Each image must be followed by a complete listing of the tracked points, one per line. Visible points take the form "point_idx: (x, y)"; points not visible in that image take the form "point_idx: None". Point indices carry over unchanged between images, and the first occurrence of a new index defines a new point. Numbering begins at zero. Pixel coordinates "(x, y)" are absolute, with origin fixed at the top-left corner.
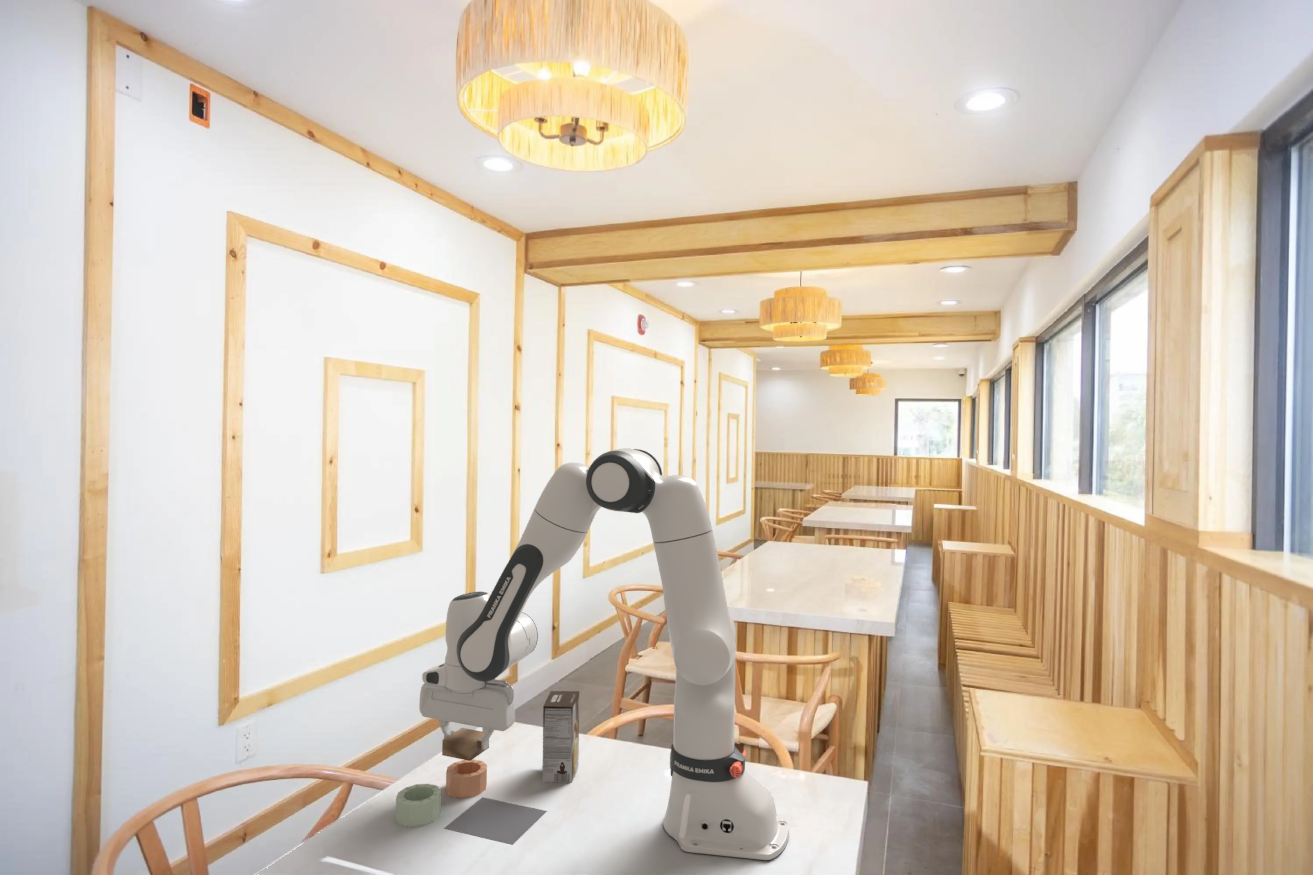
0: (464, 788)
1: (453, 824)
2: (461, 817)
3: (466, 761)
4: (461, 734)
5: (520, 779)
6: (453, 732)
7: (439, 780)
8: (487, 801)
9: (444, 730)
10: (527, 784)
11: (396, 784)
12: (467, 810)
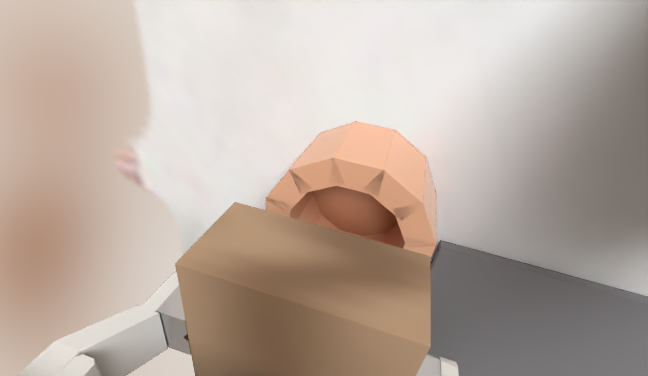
0: None
1: None
2: None
3: (310, 180)
4: (244, 350)
5: (582, 59)
6: (184, 330)
7: (239, 131)
8: (468, 269)
9: (141, 362)
10: (630, 105)
11: (151, 172)
12: None
